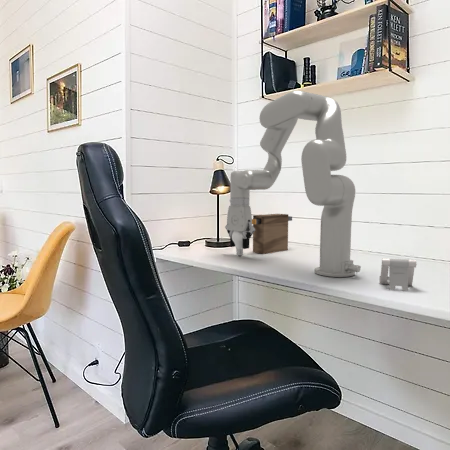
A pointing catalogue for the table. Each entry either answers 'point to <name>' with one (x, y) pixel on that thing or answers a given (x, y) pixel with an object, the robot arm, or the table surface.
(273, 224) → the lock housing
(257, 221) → the bar
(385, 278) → the portable electronic device stand
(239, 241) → the lightbulb
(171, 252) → the table surface
